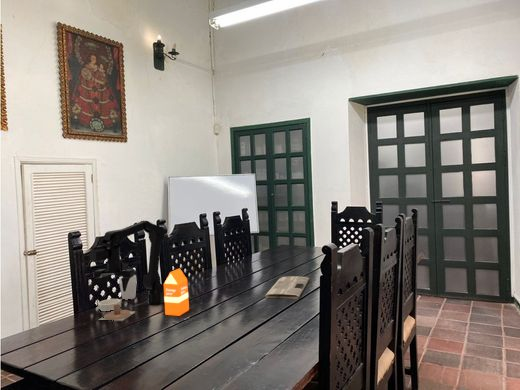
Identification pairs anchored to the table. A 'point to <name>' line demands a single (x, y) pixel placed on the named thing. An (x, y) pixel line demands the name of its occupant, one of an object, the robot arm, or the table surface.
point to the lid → (117, 313)
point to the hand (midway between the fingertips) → (115, 291)
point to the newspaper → (288, 287)
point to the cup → (128, 288)
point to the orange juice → (176, 293)
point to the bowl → (108, 304)
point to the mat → (121, 318)
